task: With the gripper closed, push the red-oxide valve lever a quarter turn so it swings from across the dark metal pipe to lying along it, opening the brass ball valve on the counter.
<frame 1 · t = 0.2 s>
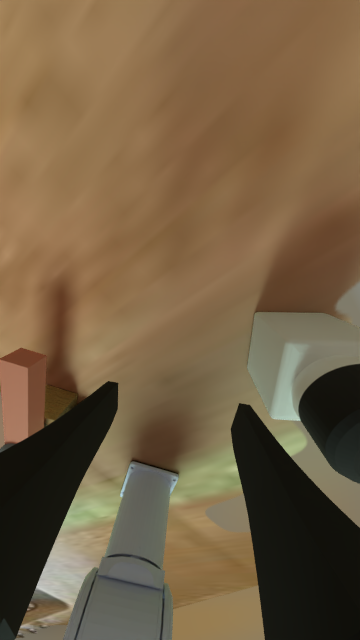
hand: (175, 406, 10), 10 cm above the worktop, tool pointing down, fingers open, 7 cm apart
lever: (24, 413, 18), point 6 cm above the worktop, hinge at 0.0°
medicine bottle: (281, 341, 19), on the worktop
valve: (60, 405, 25), on the worktop
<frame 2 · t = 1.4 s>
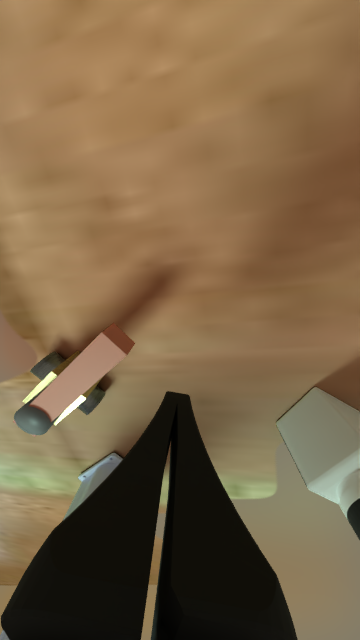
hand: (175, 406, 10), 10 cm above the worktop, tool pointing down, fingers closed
lever: (70, 385, 16), point 6 cm above the worktop, hinge at 0.0°
medicine bottle: (314, 415, 22), on the worktop
valve: (78, 375, 22), on the worktop
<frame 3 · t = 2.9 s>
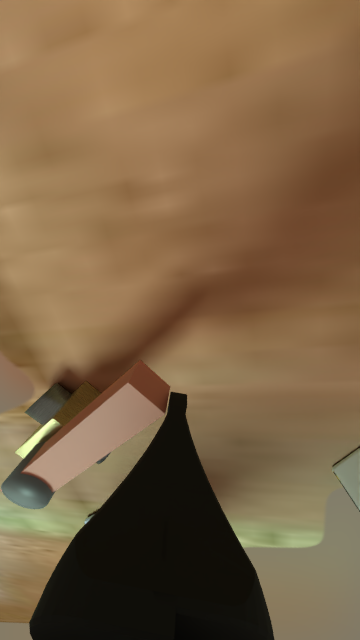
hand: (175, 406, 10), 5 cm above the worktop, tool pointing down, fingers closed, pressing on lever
lever: (78, 443, 11), point 6 cm above the worktop, hinge at 0.5°, touching gripper
valve: (85, 409, 18), on the worktop
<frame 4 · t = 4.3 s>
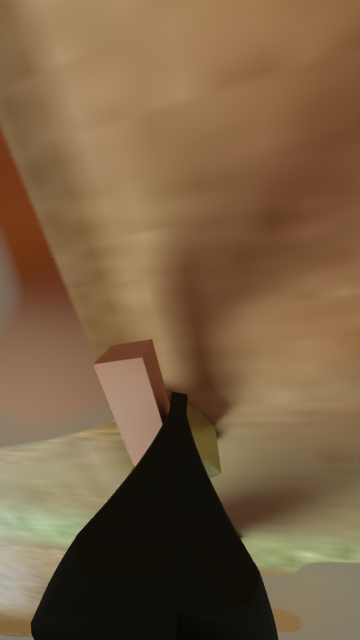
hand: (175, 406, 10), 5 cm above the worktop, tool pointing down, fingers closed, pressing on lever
lever: (156, 447, 11), point 6 cm above the worktop, hinge at 58.1°, touching gripper
valve: (178, 426, 18), on the worktop
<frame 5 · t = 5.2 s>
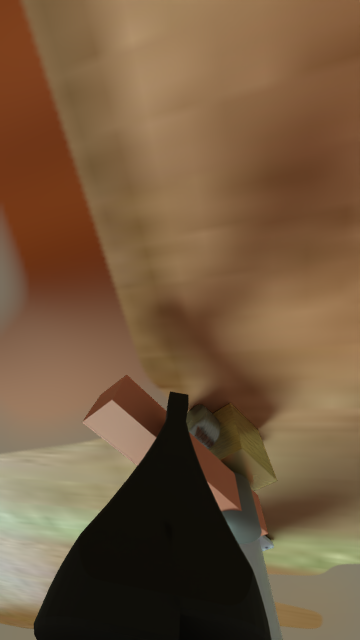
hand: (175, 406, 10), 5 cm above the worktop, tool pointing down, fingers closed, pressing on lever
lever: (185, 466, 11), point 6 cm above the worktop, hinge at 88.1°, touching gripper
valve: (220, 430, 18), on the worktop
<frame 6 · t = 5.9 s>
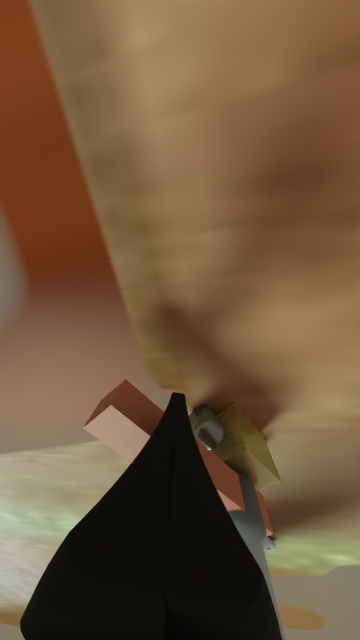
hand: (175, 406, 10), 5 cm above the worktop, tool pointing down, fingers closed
lever: (187, 469, 11), point 6 cm above the worktop, hinge at 90.7°, touching gripper
valve: (223, 431, 18), on the worktop
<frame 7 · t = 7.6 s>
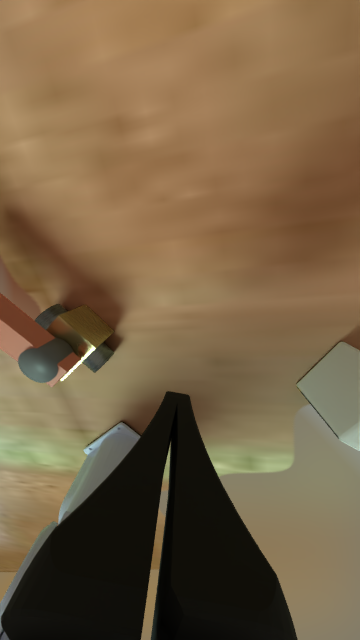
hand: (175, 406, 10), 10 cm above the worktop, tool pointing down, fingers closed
medicine bottle: (338, 376, 21), on the worktop
valve: (85, 333, 21), on the worktop
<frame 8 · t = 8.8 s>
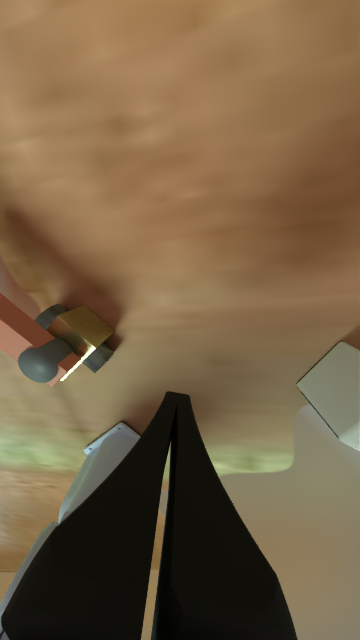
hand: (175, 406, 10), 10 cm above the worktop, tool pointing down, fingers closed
medicine bottle: (337, 376, 21), on the worktop
valve: (85, 333, 21), on the worktop
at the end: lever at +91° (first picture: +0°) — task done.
